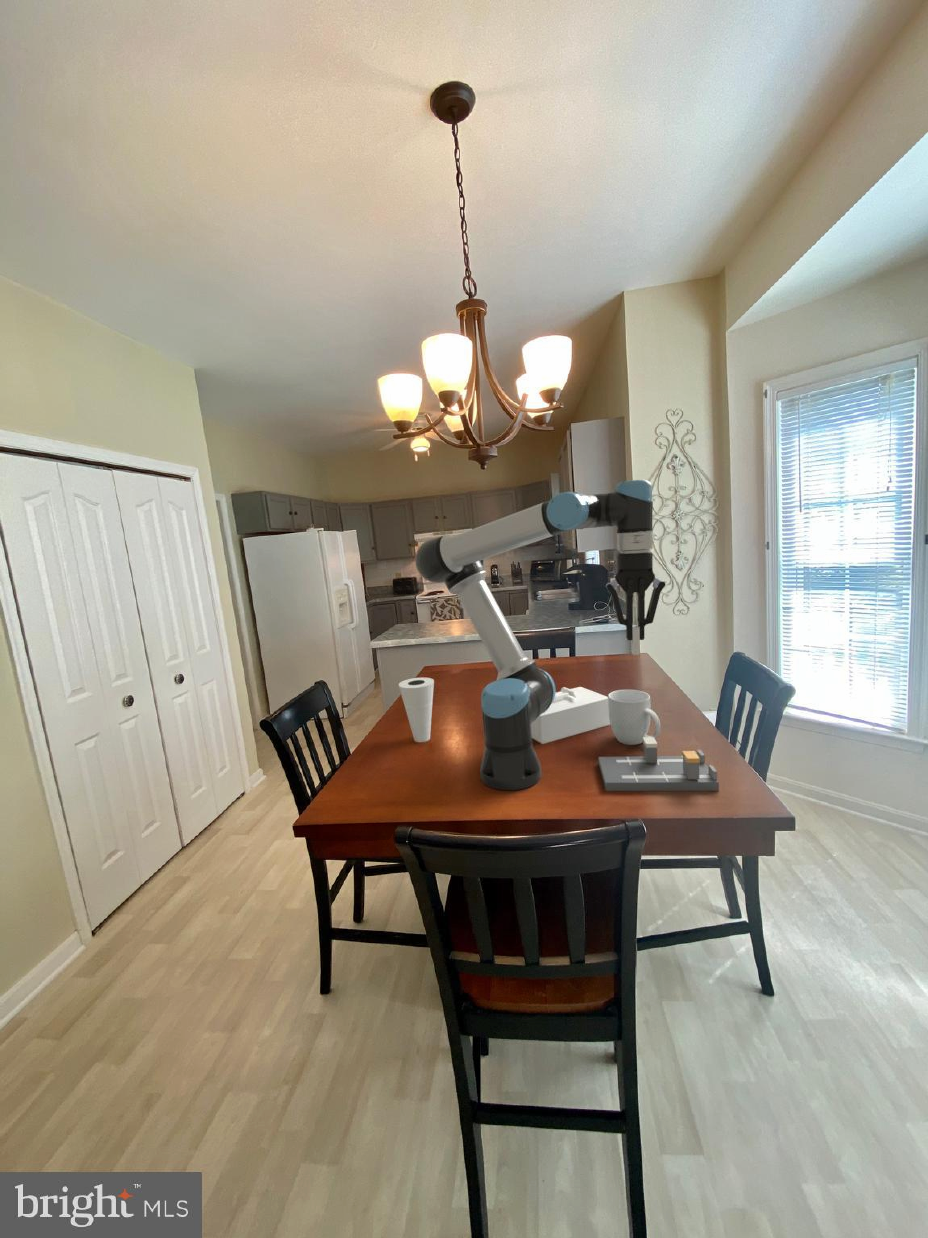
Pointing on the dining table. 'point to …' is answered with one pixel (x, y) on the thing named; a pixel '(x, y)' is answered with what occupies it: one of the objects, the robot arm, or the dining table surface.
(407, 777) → the dining table surface
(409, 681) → the white paper towel roll
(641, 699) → the mug
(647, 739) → the fader cream
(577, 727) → the tissue box
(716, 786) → the console
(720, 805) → the dining table surface
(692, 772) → the fader orange
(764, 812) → the dining table surface
